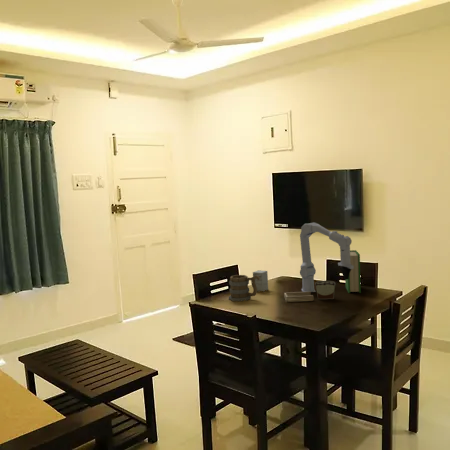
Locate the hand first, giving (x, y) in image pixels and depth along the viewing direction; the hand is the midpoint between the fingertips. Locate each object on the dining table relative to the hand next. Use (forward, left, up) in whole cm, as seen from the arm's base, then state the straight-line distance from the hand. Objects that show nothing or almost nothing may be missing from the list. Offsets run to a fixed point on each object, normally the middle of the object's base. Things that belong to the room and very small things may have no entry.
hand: (346, 279), depth 290 cm
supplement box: (-27, -50, -11) cm, 58 cm away
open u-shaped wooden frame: (+1, -29, -11) cm, 30 cm away
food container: (+1, -13, -11) cm, 17 cm away
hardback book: (-16, +8, -11) cm, 21 cm away
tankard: (-5, -61, -11) cm, 62 cm away
